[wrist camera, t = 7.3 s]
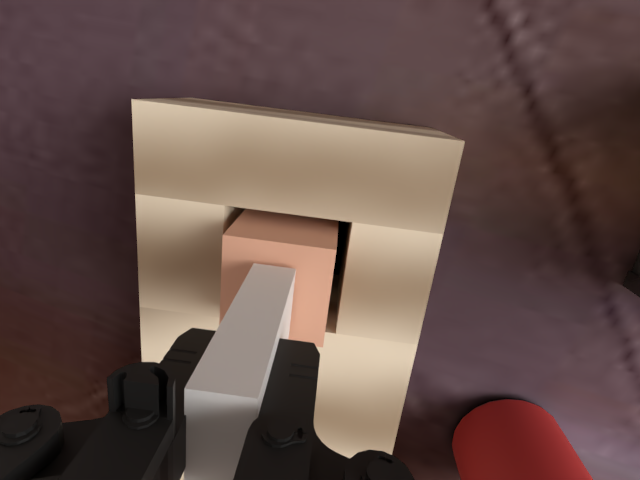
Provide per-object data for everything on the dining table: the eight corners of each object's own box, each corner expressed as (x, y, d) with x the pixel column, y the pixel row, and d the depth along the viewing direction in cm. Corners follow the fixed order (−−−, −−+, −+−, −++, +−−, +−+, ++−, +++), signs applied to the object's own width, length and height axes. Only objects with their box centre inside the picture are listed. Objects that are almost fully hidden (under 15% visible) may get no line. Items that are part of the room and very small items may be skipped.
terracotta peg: (258, 194, 20) (222, 234, 14) (339, 205, 20) (336, 250, 14) (253, 269, 21) (218, 333, 16) (329, 279, 21) (322, 347, 16)
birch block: (191, 97, 20) (131, 99, 15) (432, 127, 20) (464, 141, 14) (188, 480, 29) (150, 573, 24) (355, 504, 29) (357, 604, 23)
